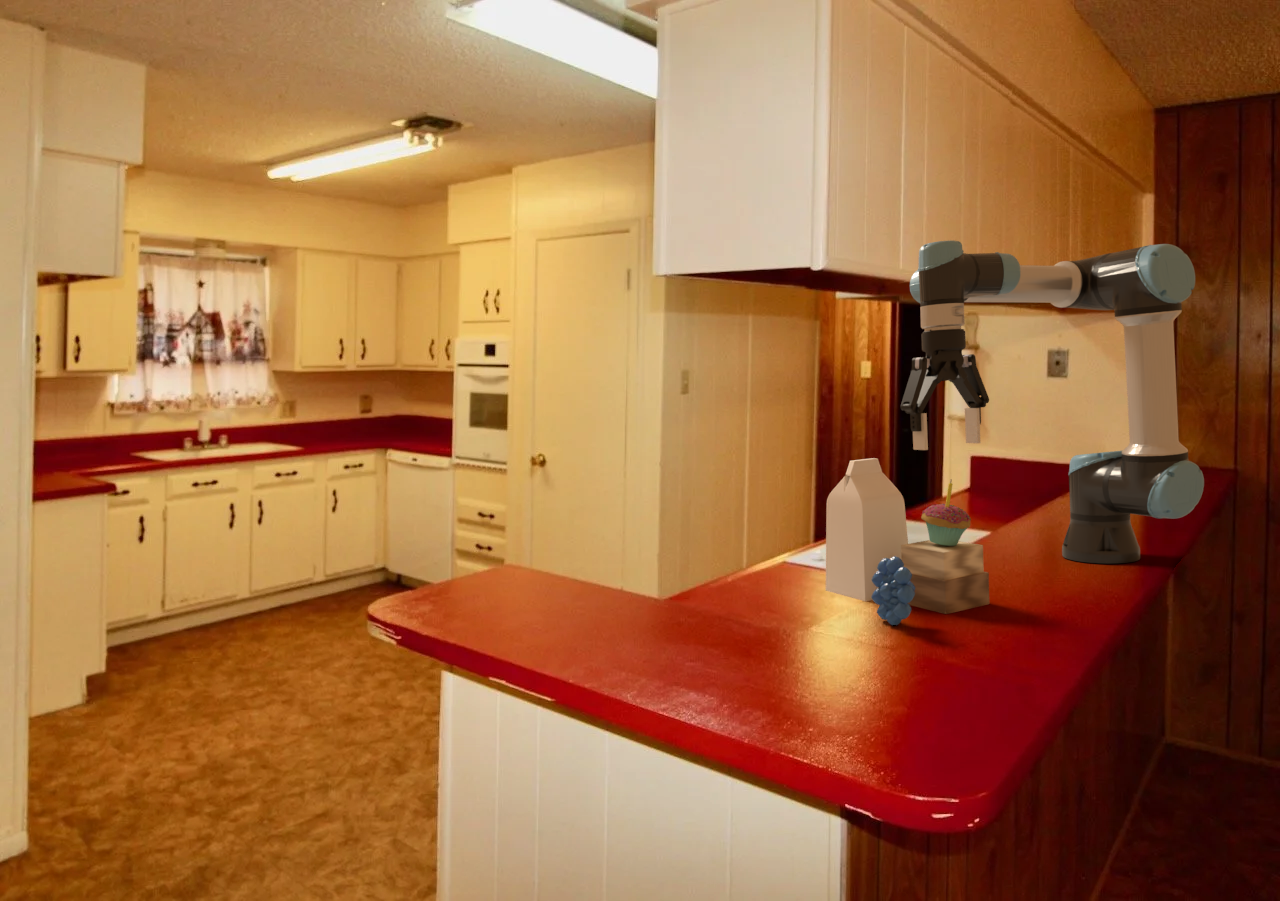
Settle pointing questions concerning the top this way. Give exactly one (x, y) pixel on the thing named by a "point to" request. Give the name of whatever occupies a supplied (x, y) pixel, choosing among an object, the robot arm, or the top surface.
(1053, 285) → the robot arm
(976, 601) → the block bottom
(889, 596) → the grapes
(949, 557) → the block top
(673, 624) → the top surface
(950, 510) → the cupcake
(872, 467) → the milk
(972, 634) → the top surface
